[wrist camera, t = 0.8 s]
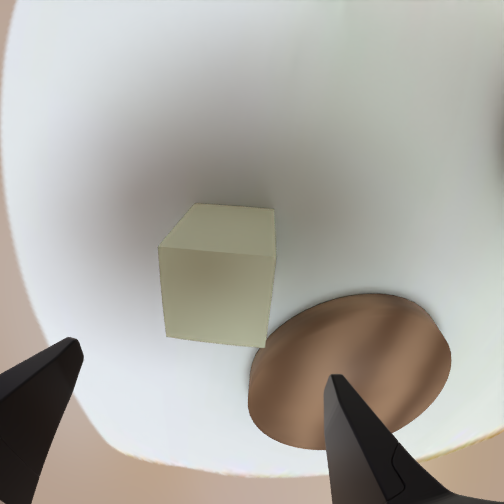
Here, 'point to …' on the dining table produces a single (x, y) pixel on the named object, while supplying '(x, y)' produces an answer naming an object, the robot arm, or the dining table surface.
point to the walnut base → (347, 365)
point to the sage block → (219, 275)
